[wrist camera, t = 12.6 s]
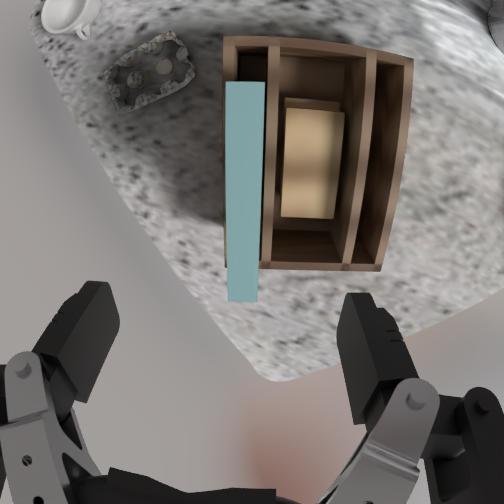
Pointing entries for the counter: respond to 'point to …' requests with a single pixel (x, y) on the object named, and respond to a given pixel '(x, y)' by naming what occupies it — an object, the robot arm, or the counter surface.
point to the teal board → (243, 186)
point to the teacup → (70, 16)
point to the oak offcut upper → (310, 162)
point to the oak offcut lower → (304, 104)
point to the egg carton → (146, 74)
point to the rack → (353, 146)
